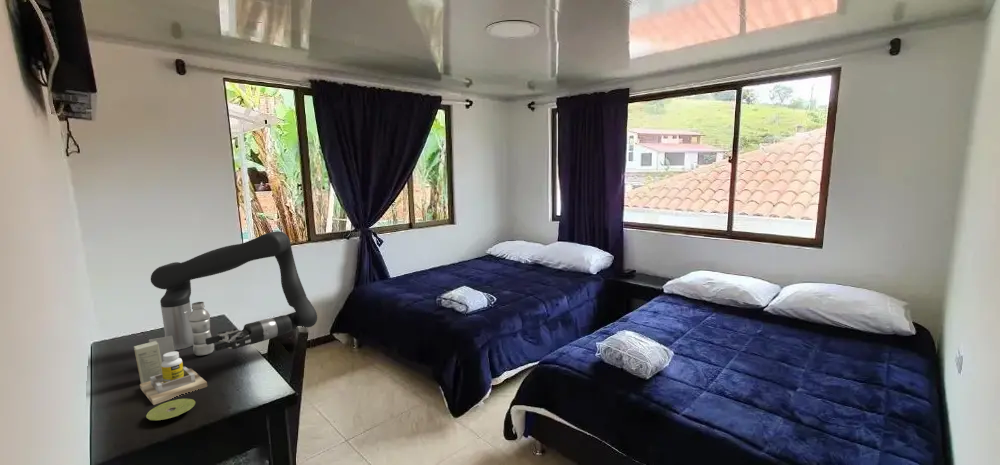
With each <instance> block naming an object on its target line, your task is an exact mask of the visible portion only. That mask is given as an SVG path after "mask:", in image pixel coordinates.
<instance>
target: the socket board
mask: <svg viewBox="0 0 1000 465" xmlns="http://www.w3.org/2000/svg"><path fill="white" fill-rule="evenodd" d="M183 371H184V377H181V378H178V379H175V380H172V381H169V382H166V383H163V375H162V374H159V375H155V376H152V377H150V381H149V382H145V383H142V384H141V383H140V384H139V388H140V390H141V391H142V393H143V394H144V395H145V396H146V397H147V399H148V400H149V402H150V403H151V404H152V405H153V406H156V405H159V404H162V403H165V402H166V401H167V402H168V401H171V399H172V398H173V399H175V398H174V397H176V396H178V397H180V396H179V395H181V394H184V395H186V394H185V393H187V394H189V393H188V392H190V393H192V391H193V392H195V390H196V391H198V389H199V390H201V389H204V388H207V387H208V382H207V381H206V380H205V379H204V378H203V377H201V376H200V374H199V373H197V372H196V371H195V370H194V369H193V368H188V367H186V366H183ZM181 396H182V395H181ZM176 398H177V397H176Z"/></svg>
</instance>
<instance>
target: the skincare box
mask: <svg viewBox="0 0 1000 465" xmlns="http://www.w3.org/2000/svg"><path fill="white" fill-rule="evenodd" d="M133 350H134V355H135V359H136V366H137V371H138V376H139V381H140V384H142V383H145V382H149V381H150V377H152V376H155V375H159V374H162V367H161V364H162V361H161V356H160V351H159V345H158V342H157V341H153V342H149V341H148V342H147V343H146V342H145V343H142V344H138V345H134V346H133Z"/></svg>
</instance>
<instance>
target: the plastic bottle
mask: <svg viewBox="0 0 1000 465" xmlns="http://www.w3.org/2000/svg"><path fill="white" fill-rule="evenodd" d="M189 321H190V325H191V328H192V332H193V343H194V344H193V345H192V351H193V354H195V355H196V356H198V357H201V356H206V355H210V354H212V353H213V352H214V351H215V350H214V345H215V343H213V344H209V345H207V344H206V338H209V337H212V334H211V314H210V313H209V311H208V310H206V309H205V302H204V301H197V302H193V303H192V304H191V314H190V316H189Z"/></svg>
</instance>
